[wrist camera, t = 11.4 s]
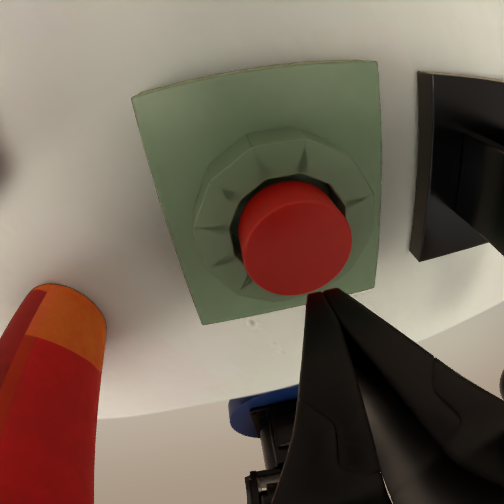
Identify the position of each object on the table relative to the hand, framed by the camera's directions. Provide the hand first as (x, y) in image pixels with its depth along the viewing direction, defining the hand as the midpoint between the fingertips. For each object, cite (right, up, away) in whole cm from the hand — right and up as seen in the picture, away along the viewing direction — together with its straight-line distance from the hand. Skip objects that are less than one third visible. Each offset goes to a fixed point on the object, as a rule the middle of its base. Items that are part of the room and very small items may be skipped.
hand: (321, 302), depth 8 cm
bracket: (+11, +6, +6) cm, 14 cm away
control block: (-1, +4, +6) cm, 7 cm away
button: (-1, +2, +3) cm, 4 cm away
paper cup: (-13, -3, +9) cm, 16 cm away
